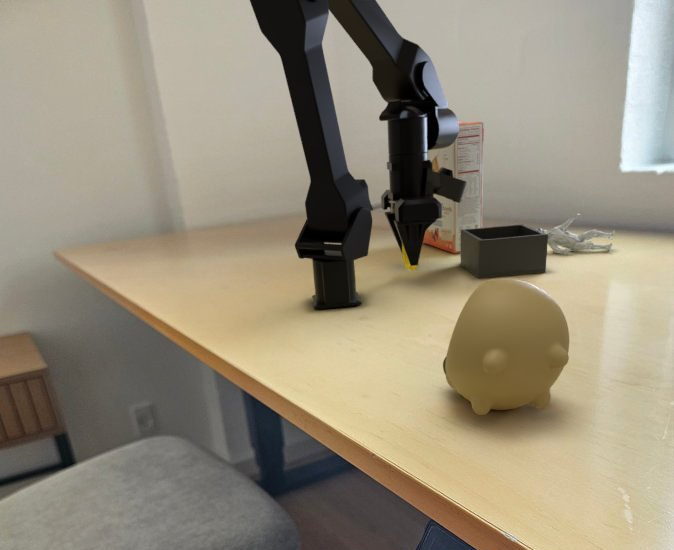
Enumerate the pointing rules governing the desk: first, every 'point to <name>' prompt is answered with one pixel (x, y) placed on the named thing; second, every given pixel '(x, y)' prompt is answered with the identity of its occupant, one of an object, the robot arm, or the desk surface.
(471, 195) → the cracker box
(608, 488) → the desk surface
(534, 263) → the basket
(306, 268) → the desk surface
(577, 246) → the soldier figure
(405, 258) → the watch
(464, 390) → the toy pig
